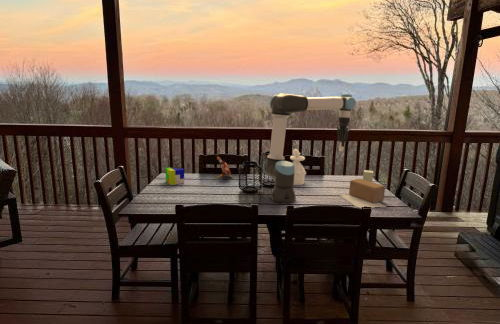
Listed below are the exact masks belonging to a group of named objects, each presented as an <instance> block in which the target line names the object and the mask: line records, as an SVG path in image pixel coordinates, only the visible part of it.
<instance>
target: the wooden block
mask: <svg viewBox="0 0 500 324" xmlns="http://www.w3.org/2000/svg"><path fill="white" fill-rule="evenodd" d="M349 181H350V182H349V192H348V195H352V196H355V197H358V198H361V199H364V200H366V201H369V202H372V203H376V202H379V203H381V202H383V201H384V200H385V192H386V191H385V190H386V186H385V185H383V184H379V183H376V182H373V181H372V182H370V181H366V180H363V178H356V179H352V180H351V179H350V180H349Z"/></svg>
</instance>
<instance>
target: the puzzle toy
mask: <svg viewBox="0 0 500 324" xmlns="http://www.w3.org/2000/svg"><path fill="white" fill-rule="evenodd" d="M164 170H165V182H166V183H168V184H169V185H170V186H173V185H174V186H175V185H180V184H185V169H184V168H183V167H180V166H172V167H165V169H164Z"/></svg>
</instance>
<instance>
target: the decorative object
mask: <svg viewBox="0 0 500 324" xmlns="http://www.w3.org/2000/svg"><path fill="white" fill-rule="evenodd" d="M292 153H293V155H291V156H290V157H289V158H290V160H291V161H292V162H291V163H293V164H294V167H295V172H294V186H302V185H304V184H305V177H306V175H307V171H306V170H305V168H304V167H303V164H302V163H301V161H302V162H303V161H305V160H306V157H305V156H303V155H301V154H302V153H301V152H300V151H299V149H297V148H294V149H293V150H292Z"/></svg>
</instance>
